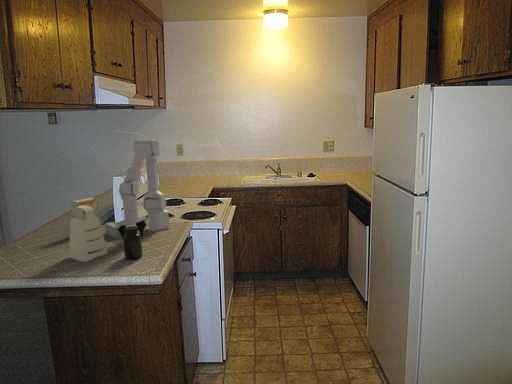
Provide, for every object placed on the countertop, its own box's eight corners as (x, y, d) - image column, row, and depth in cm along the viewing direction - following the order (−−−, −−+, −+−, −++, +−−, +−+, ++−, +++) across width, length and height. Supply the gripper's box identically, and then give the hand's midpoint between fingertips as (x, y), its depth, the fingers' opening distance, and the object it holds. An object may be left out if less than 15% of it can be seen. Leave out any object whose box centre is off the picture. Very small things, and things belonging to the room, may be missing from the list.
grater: (92, 250, 180) (87, 203, 176) (108, 254, 174) (103, 205, 170) (69, 257, 171) (63, 208, 168) (84, 261, 165) (79, 211, 162)
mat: (124, 230, 209) (124, 229, 209) (150, 241, 190) (150, 240, 190) (98, 235, 200) (98, 235, 200) (122, 247, 181) (122, 247, 181)
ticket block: (116, 231, 205) (115, 221, 205) (127, 236, 197) (126, 225, 196) (105, 233, 202) (104, 223, 201) (116, 238, 193) (115, 227, 192)
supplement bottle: (121, 257, 169) (118, 227, 167) (137, 253, 174) (134, 224, 172) (130, 261, 164) (127, 230, 162) (146, 256, 169) (143, 227, 167)
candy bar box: (81, 237, 199) (77, 202, 196) (74, 236, 201) (70, 201, 198) (100, 231, 208) (97, 198, 205) (93, 230, 211) (90, 197, 208)
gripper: (139, 205, 192) (142, 235, 194) (110, 211, 181) (113, 243, 184) (149, 207, 187) (151, 237, 190) (119, 214, 177) (122, 246, 179)
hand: (133, 240), depth 186 cm, fingers open, 7 cm apart
